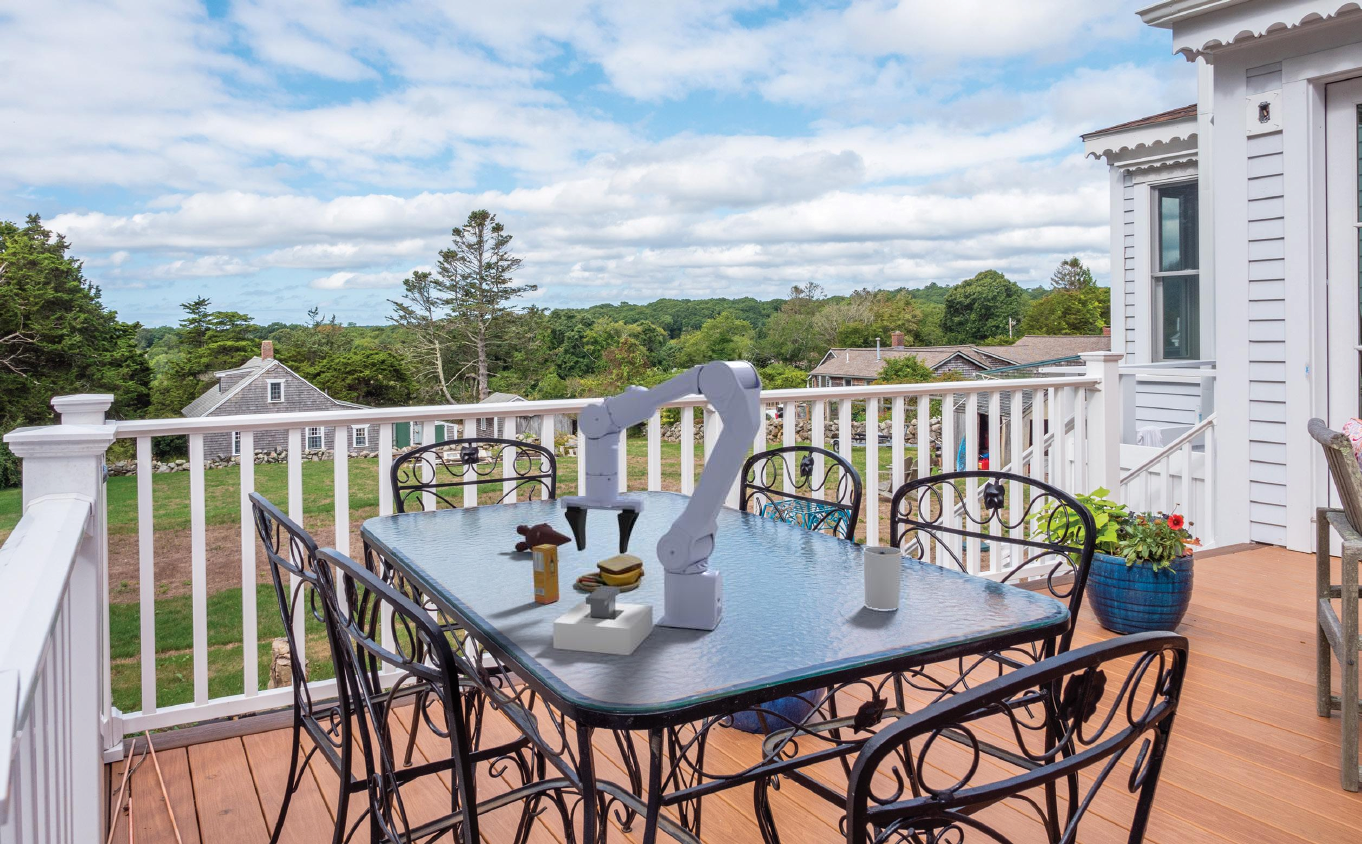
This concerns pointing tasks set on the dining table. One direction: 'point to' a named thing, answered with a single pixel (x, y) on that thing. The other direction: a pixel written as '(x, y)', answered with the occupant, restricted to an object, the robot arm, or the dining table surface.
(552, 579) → the supplement box
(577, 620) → the well block
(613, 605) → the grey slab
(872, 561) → the drinking glass
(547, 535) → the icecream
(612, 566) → the toy sandwich meal
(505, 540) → the dining table surface
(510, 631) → the dining table surface
